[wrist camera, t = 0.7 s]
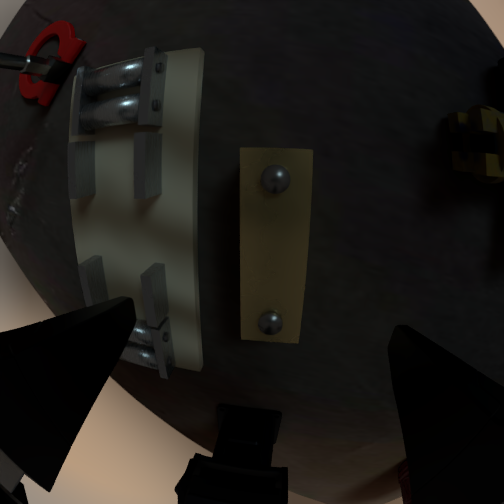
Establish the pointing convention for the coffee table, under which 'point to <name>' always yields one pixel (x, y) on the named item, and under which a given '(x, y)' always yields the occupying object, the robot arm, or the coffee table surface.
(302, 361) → the coffee table surface
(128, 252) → the board
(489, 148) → the pipe connector
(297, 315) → the tapered knobbed panel
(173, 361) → the chain end
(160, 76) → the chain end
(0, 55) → the gray post stand
